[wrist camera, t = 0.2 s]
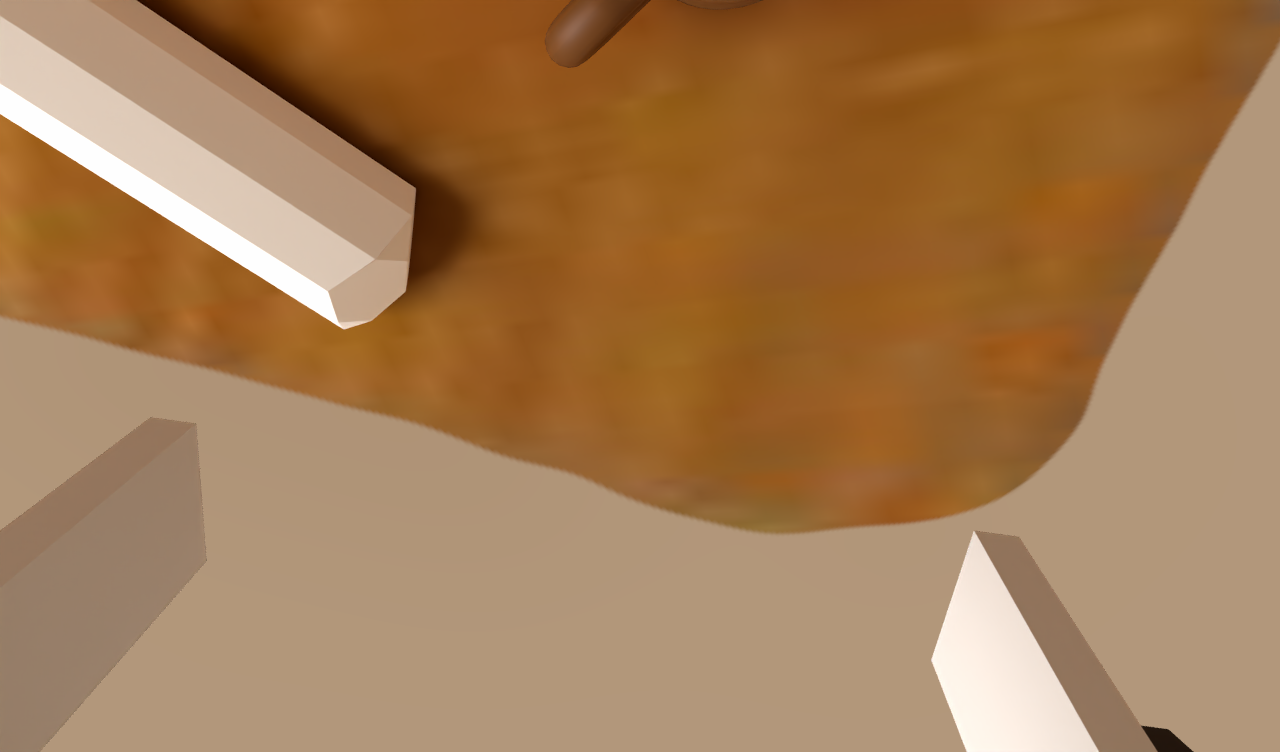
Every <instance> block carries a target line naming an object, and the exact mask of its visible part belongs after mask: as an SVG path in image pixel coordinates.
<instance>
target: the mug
mask: <svg viewBox="0 0 1280 752" xmlns="http://www.w3.org/2000/svg"><path fill="white" fill-rule="evenodd" d="M649 1H650V0H572V1H571V2H570V3H569V4H568V5H567V6H566V7H565V8H564V9H563V10H562V11H561V13H560V14H559V15H558V16H557V17H556V18H555V20H554V21H553V22H552V24H551V26H550V27H549V29H548V31H547V33H546V38H545V45H546V50H547V52H548V54H549V56H550V57H551V59H552V60H553V61H554V62H556V63H557V64H558V65H560V66H564V67H567V68H571V67H577V66H579V65H580V64H582V63H584V62H585V61H586V60H588V59H589V58H590V57H591V56H592V55H594V54H595V53H596V52H597V51H598V50H599V49H600V48H601V47H602V46H604V45H605V44H606V43H607V42H608V41H609V40H610V39H611V38H612V37H613V36H614V35H615V34H616V33H617V32H618V31H619V30H620V29H621V28H622V27H624V26H625V25H626V24H627V23H628V22H629V21H630V20H631V19H632V18H633V17H634V16H635V15H636V14H637V13H638V12H639V11H640V10H641V9H642V8H643V7H644V6H645V5H646V4H647V3H648V2H649ZM678 1H681V2H683V3H685V4H687V5H691V6H695V7H698V8H705V9H731V8H738V7H744V6H747V5H750V4H754V3H757V2H760V1H762V0H678Z"/></svg>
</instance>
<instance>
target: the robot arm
mask: <svg viewBox="0 0 1280 752" xmlns="http://www.w3.org/2000/svg"><path fill="white" fill-rule="evenodd" d="M199 467H200V466H199V453H198V440H197V427H196V423H188V422H181V421H174V420H167V419H159V418H152V417H151V418H149V419H148V420H146V421H145V422H144V423H143V424H141V425H140V426H138V427H137V428H136V429H134V430H133V431H132V432H130V433H129V434H128V435H126V436H125V437H124V438H122V439H121V440H120V441H119V442H117V443H116V444H114V445H113V446H112V447H111V448H109V449H108V450H106V451H105V452H104V453H103V454H101V455H100V456H99V457H97V458H96V459H95V460H93V461H92V462H91V463H89V464H88V465H87V466H85V467H84V468H83V469H81V470H80V471H79V472H77V473H76V474H75V475H73V476H72V477H71V478H69V479H68V480H67V481H66V482H64V483H63V484H61V485H60V486H59V487H57V488H56V489H55V490H54V491H52V492H51V493H49V494H48V495H47V496H45V497H44V498H43V499H41V500H40V501H39V502H38V503H36V504H35V505H34V506H32V507H31V508H30V509H28V510H27V511H26V512H24V513H23V514H22V515H20V516H19V517H18V518H16V519H15V520H14V521H12V522H11V523H10V524H8V525H7V526H6V527H4V528H3V529H2V530H0V752H40V751H41V750H42V749H43V748H44V747H45V746H46V744H47V743H48V742H49V741H50V740H51V739H52V738H53V736H54V735H55V734H56V733H57V732H58V731H59V729H60V728H61V727H62V726H63V725H64V724H65V723H66V722H67V720H68V719H69V718H70V717H71V716H72V715H73V713H74V712H75V711H76V710H77V709H78V708H79V707H80V705H81V704H82V703H83V702H84V701H85V700H86V698H87V697H88V696H89V695H90V694H91V693H92V692H93V691H94V689H95V688H96V687H97V686H98V685H99V684H100V683H101V681H102V680H103V679H104V678H105V677H106V676H107V675H108V673H109V672H110V671H111V670H112V669H113V668H114V667H115V665H116V664H117V663H118V662H119V661H120V660H121V658H122V657H123V656H124V655H125V654H126V653H127V652H128V650H129V649H130V648H131V647H132V646H133V645H134V644H135V642H136V641H137V640H138V639H139V638H140V637H141V635H142V634H143V633H144V632H145V631H146V630H147V629H148V628H149V626H150V625H151V624H152V623H153V622H154V621H155V620H156V619H157V617H158V616H159V615H160V614H161V612H163V610H164V609H165V608H166V607H167V606H168V605H169V604H170V602H171V601H172V600H173V599H174V598H175V597H176V595H177V594H178V593H179V592H180V591H181V590H182V589H183V588H184V586H185V585H186V584H187V583H188V582H189V581H190V580H191V578H192V577H193V576H194V575H195V574H196V573H197V572H198V570H199V569H200V568H201V567H202V566H203V565H204V564H205V562H206V561H207V559H206V546H205V533H204V520H203V506H202V494H201V480H200V468H199ZM932 663H933V665H934V668H935V671H936V673H937V676H938V678H939V681H940V683H941V686H942V689H943V691H944V694H945V697H946V699H947V702H948V704H949V707H950V710H951V712H952V715H953V717H954V720H955V722H956V725H957V728H958V730H959V733H960V735H961V738H962V741H963V743H964V746H965V748H966V751H967V752H1193V751H1192V750H1191V749H1190V748H1189V747H1187V746H1186V745H1185V744H1184V743H1183V742H1182V741H1181V740H1180V739H1178V738H1177V737H1176V736H1175V735H1174V734H1173V733H1172V732H1171V731H1170V730H1168V729H1162V728H1154V727H1147V726H1141V725H1140V724H1139V722H1138V721H1137V719H1136V718H1135V716H1134V715H1133V713H1132V711H1131V710H1130V708H1129V707H1128V705H1127V704H1126V702H1125V700H1124V699H1123V697H1122V696H1121V694H1120V693H1119V691H1118V690H1117V688H1116V686H1115V685H1114V683H1113V682H1112V680H1111V679H1110V677H1109V676H1108V674H1107V673H1106V671H1105V669H1104V668H1103V666H1102V665H1101V664H1100V662H1099V660H1098V659H1097V657H1096V656H1095V654H1094V652H1093V651H1092V649H1091V648H1090V646H1089V645H1088V643H1087V642H1086V640H1085V639H1084V637H1083V635H1082V634H1081V632H1080V631H1079V629H1078V628H1077V626H1076V624H1075V623H1074V622H1073V620H1072V618H1071V617H1070V615H1069V614H1068V612H1067V610H1066V609H1065V607H1064V606H1063V604H1062V603H1061V601H1060V600H1059V598H1058V597H1057V595H1056V593H1055V592H1054V590H1053V589H1052V588H1051V586H1050V584H1049V583H1048V581H1047V579H1046V578H1045V576H1044V575H1043V573H1042V572H1041V570H1040V569H1039V567H1038V566H1037V564H1036V562H1035V561H1034V559H1033V558H1032V556H1031V555H1030V553H1029V552H1028V550H1027V549H1026V547H1025V546H1024V544H1023V542H1022V541H1021V539H1020V538H1019V537H1016V536H1009V535H1002V534H994V533H987V532H980V531H974V532H973V535H972V538H971V542H970V544H969V547H968V551H967V554H966V557H965V560H964V563H963V566H962V569H961V572H960V575H959V578H958V581H957V584H956V587H955V590H954V593H953V596H952V599H951V602H950V605H949V608H948V611H947V614H946V617H945V621H944V623H943V626H942V630H941V633H940V635H939V639H938V642H937V645H936V648H935V651H934V654H933V657H932Z"/></svg>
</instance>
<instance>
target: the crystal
mask: <svg viewBox="0 0 1280 752" xmlns="http://www.w3.org/2000/svg"><path fill="white" fill-rule="evenodd" d="M0 114H1V115H3V116H5V117H6V118H8V119H9V120H11V121H13V122H14V123H16V124H17V125H19V126H21V127H22V128H24V129H25V130H27V131H28V132H30V133H32V134H33V135H35V136H36V137H38V138H40V139H41V140H43V141H44V142H46V143H48V144H49V145H51V146H52V147H54V148H56V149H57V150H59V151H60V152H62V153H64V154H65V155H67V156H68V157H70V158H72V159H73V160H75V161H76V162H78V163H80V164H81V165H83V166H84V167H86V168H87V169H89V170H91V171H92V172H94V173H95V174H97V175H99V176H100V177H102V178H103V179H105V180H107V181H108V182H110V183H111V184H113V185H115V186H116V187H118V188H119V189H121V190H123V191H124V192H126V193H127V194H129V195H131V196H132V197H134V198H135V199H137V200H139V201H140V202H142V203H143V204H145V205H146V206H148V207H150V208H151V209H153V210H154V211H156V212H158V213H159V214H161V215H162V216H164V217H166V218H167V219H169V220H170V221H172V222H174V223H175V224H177V225H178V226H180V227H182V228H183V229H185V230H186V231H188V232H190V233H191V234H193V235H194V236H196V237H198V238H199V239H201V240H202V241H204V242H205V243H207V244H209V245H210V246H212V247H213V248H215V249H217V250H218V251H220V252H221V253H223V254H225V255H226V256H228V257H229V258H231V259H233V260H234V261H236V262H237V263H239V264H241V265H242V266H244V267H245V268H247V269H249V270H250V271H252V272H253V273H255V274H257V275H258V276H260V277H261V278H263V279H264V280H266V281H268V282H269V283H271V284H272V285H274V286H276V287H277V288H279V289H280V290H282V291H284V292H285V293H287V294H288V295H290V296H292V297H293V298H295V299H296V300H298V301H300V302H301V303H303V304H304V305H306V306H308V307H309V308H311V309H312V310H314V311H316V312H317V313H319V314H320V315H322V316H323V317H325V318H327V319H328V320H330V321H331V322H333V323H335V324H336V325H338V326H339V327H341V328H343V329H347V328H350V327H353V326H357V325H360V324H363V323H366V322H369V321H372V320H373V319H374V318H375V317H377V316H378V315H379V314H380V313H381V312H382V311H384V310H385V309H386V308H387V307H388V306H389V305H390V304H392V303H393V302H394V301H395V300H396V299H397V298H399V297H400V296H401V295H402V294H403V293H404V292H406V286H407V279H408V273H409V263H410V253H411V243H412V232H413V221H414V209H415V196H416V188H415V187H413V186H412V185H410V184H409V183H407V182H406V181H404V180H403V179H401V178H400V177H398V176H397V175H395V174H394V173H392V172H391V171H389V170H388V169H386V168H385V167H383V166H382V165H380V164H379V163H377V162H376V161H374V160H373V159H372V158H370V157H369V156H367V155H366V154H364V153H363V152H361V151H360V150H358V149H357V148H355V147H354V146H352V145H351V144H349V143H348V142H346V141H345V140H343V139H342V138H340V137H339V136H337V135H336V134H334V133H333V132H331V131H330V130H328V129H327V128H325V127H324V126H322V125H321V124H319V123H318V122H317V121H315V120H314V119H312V118H311V117H309V116H308V115H306V114H305V113H303V112H302V111H300V110H299V109H297V108H296V107H294V106H293V105H291V104H290V103H288V102H287V101H285V100H284V99H282V98H281V97H279V96H278V95H276V94H275V93H273V92H272V91H270V90H269V89H267V88H266V87H264V86H263V85H262V84H260V83H259V82H257V81H256V80H254V79H253V78H251V77H250V76H248V75H247V74H245V73H244V72H242V71H241V70H239V69H238V68H236V67H235V66H233V65H232V64H230V63H229V62H227V61H226V60H224V59H223V58H221V57H220V56H218V55H217V54H215V53H214V52H212V51H211V50H210V49H208V48H207V47H205V46H204V45H202V44H201V43H199V42H198V41H196V40H195V39H193V38H192V37H190V36H189V35H187V34H186V33H184V32H183V31H181V30H180V29H178V28H177V27H175V26H174V25H172V24H171V23H169V22H168V21H166V20H165V19H163V18H162V17H160V16H159V15H157V14H156V13H155V12H153V11H152V10H150V9H149V8H147V7H146V6H144V5H143V4H141V3H140V2H138V1H137V0H0ZM395 235H396V236H395ZM390 241H391V242H390ZM385 247H386V248H385ZM380 253H381V254H380ZM375 259H376V260H375ZM372 261H373V262H372ZM369 263H370V264H369ZM366 265H367V266H366ZM363 267H364V268H363ZM360 269H361V270H360ZM357 271H358V272H357ZM354 273H355V274H354ZM351 275H352V276H351ZM348 277H349V278H348Z"/></svg>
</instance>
